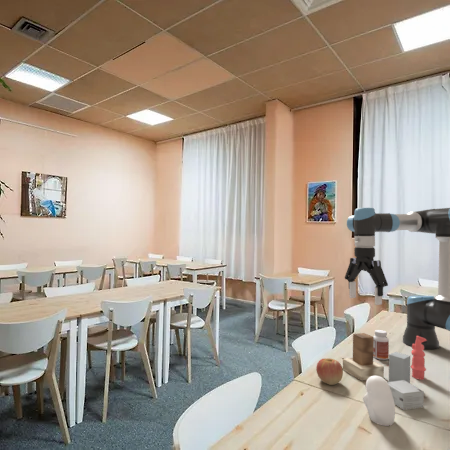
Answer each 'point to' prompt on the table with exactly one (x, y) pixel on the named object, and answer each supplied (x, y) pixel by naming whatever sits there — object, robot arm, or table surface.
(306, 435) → the table surface
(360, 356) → the walnut pillar
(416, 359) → the figurine
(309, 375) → the table surface
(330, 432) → the table surface
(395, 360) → the slate pillar
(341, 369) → the apple
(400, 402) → the small box
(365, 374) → the birch base
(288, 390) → the table surface
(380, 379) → the figurine
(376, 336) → the pill bottle
